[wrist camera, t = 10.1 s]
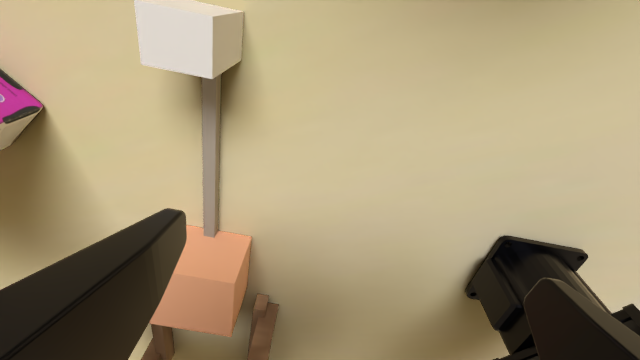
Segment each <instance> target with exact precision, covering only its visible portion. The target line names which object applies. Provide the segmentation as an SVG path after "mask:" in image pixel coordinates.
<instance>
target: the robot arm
mask: <svg viewBox="0 0 640 360" xmlns="http://www.w3.org/2000/svg"><path fill="white" fill-rule="evenodd" d="M186 239H187V231H186V215H185V213H184V212H183V211H181V210H175V209H170V208H167V209H164V210H162V211H160V212H158V213H155V214H153V215H151V216H149V217H147V218H145V219H143V220H141V221H139V222H137V223H135V224H133V225H131V226H129V227H127V228H125V229H123V230H121V231H119V232H117V233H115V234H113V235H111V236H109V237H107V238H105V239H103V240H101V241H99V242H97V243H95V244H93V245H91V246H89V247H87V248H84V249H82V250H80V251H78V252H76V253H74V254H72V255H70V256H68V257H66V258H64V259H62V260H60V261H58V262H56V263H54V264H52V265H50V266H48V267H46V268H44V269H42V270H40V271H38V272H36V273H34V274H32V275H30V276H28V277H26V278H24V279H22V280H20V281H18V282H16V283H14V284H11V285H9V286H7V287H5V288H3V289H1V290H0V360H128V358H129V357H130V355H131V353H132V351H133V350H134V348H135V346H136V344H137V343H138V341H139V339H140V337H141V336H142V334H143V332H144V330H145V329H146V327H147V325H148V323H149V322H150V320H151V318H152V317H153V315H154V313H155V311H156V309H157V307H158V306H159V304H160V301H161V299H162V297H163V295H164V293H165V290H166V288H167V286H168V284H169V281H170V279H171V277H172V274H173V272H174V270H175V267H176V265H177V263H178V261H179V258H180V256H181V254H182V251H183V249H184V247H185V244H186ZM507 242H508V243H507ZM505 243H506V244H505ZM587 258H588V255H587V254H586V253H585V252H584V251H583V250H581V249H576V248H571V247H565V246H560V245H555V244H550V243H544V242H539V241H534V240H528V239H523V238H518V237H513V236H503V237H501V238H500V239H499V240H498V242H497V243H496V245H495V246H494V248H493V249H492V251H491V252H490V254H489V255H488V257H487V258H486V260H485V261H484V263H483V264H482V266H481V267H480V269H479V270H478V272H477V273H476V275H475V276H474V278H473V279H472V281H471V282H470V284H469V285H468V287H467V288H466V290H465V292H466V294H467V297H469V298H472V299H477V300H480V301H481V303H482V306H483V308H484V310H485V312H486V314H487V316H488V319H489V321H490V323H491V325H492V327H493V328H494V330H496V331H499V333H500V335H501V337H502V339H503V341H504V343H505V345H506V347H507V350H508V352H509V354H510V355H508V356H505V357H503V358H500V359H498V358H496V359H493V360H640V311H639V310H638V309H637V308H636V307H635V306H634V305H633V304H630V305H627V306H625V307H622V308H623V310H620V311H618V312H615V313H613V314H612V313H611V312H610V311H609V310H608V308H607V307H606V306H605V305H604V304H603V303H602V301H601V300H600V299H599V298H598V297H597V296H596V294H595V293H594V292H593V291H592V290H591V289H590V287H589V286H588V285H587V284H586V283H585V282H584V280H583V279H582V278H581V277H580V276H579V275H578V273H577V272H576V271H577V270H578V269H579V268H580V267H581V265H582V264H583V263H584V262H585V261H586V260H587Z"/></svg>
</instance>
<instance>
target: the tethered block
mask: <svg viewBox="0 0 640 360" xmlns="http://www.w3.org/2000/svg"><path fill="white" fill-rule="evenodd" d="M134 5H135V14H136V22H137V31H138V40H139V49H140V58H141V65H145V66H150V67H155V68H160V69H165V70H170V71H175V72H179V73H184V74H189V75H194V76H199V77H202V145H203V222H204V228H201V227H195V226H189V225H186V231H187V239H186V244H185V247H184V249H183V251H182V254H181V256H180V258H179V261H178V263H177V265H176V267H175V270H174V272H173V274H172V277H171V279H170V281H169V284H168V286H167V288H166V290H165V293H164V295H163V297H162V299H161V301H160V304H159V306H158V307H157V309H156V311H155V313H154V315H153V317H152V318H151V320H150V324H155V325H161V326H167V327H173V328H180V329H186V330H192V331H198V332H204V333H210V334H216V335H222V336H229V337H231V336H232V333H233V329H234V326H235V323H236V320H237V317H238V314H239V311H240V307H241V304H242V301H243V298H244V295H245V292H246V289H247V281H248V270H249V260H250V249H251V239H252V237H250V236H245V235H239V234H234V233H228V232H223V231H218V210H219V159H220V108H221V73H223V72H224V71H226V70H227V69H229V68H230V67H232V66H233V65H235V64H236V63H238V62H239V61H241V58H242V39H243V20H244V11H239V10H234V9H230V8H225V7H221V6H216V5H211V4H207V3H202V2H198V1H193V0H134Z"/></svg>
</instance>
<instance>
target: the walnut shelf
mask: <svg viewBox="0 0 640 360" xmlns="http://www.w3.org/2000/svg"><path fill="white" fill-rule="evenodd" d="M268 298H269V296H268V295H262V294H257V298H256V301H255V305H254V309H253V317H252V325H251V334H250V342H249V350H248V358H247V360H268V359H269V352H270V347H271V341H272V336H273V331H274V326H275V321H276V316H277V311H278V306H279V305H278V304H272V303H268ZM151 327H152V333H153V339H152V340H151V342H150V344H149V346H148V348H147V350H146V351H145V353H144V355H143V357H142V359H141V360H172V357H173V355H174V344H173V335H172V327H167V326H161V325H155V324H151Z"/></svg>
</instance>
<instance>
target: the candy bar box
mask: <svg viewBox="0 0 640 360" xmlns="http://www.w3.org/2000/svg"><path fill="white" fill-rule="evenodd" d="M42 108H43V105H42V104H41V103H40V102H39V101H38V100H37V99H36V98H34V97H33V96H32V95H31V94H30V93H28V92H27V91H26V90H25V89H24V88H22V87H21V86H20V85H19V84H17V83H16V82H15V81H14V80H13V79H11V78H10V77H9V76H8V75H7V74H5V73H4V72H3V71H2V70H0V151H1V150H3V149H4V148H6V147H8V146H10V145H12V143H13V142H14V141H15V140H16V139H17V138H18V137H19V136H20V134H21V133H22V131H23V130H24V128H25V127H26V126H27V125H28V124H29V123H30V122H31V121H32V120H33V118H34V117H35V116H36V115H37V114H38V113H39V112H40V111H41V109H42Z"/></svg>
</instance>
